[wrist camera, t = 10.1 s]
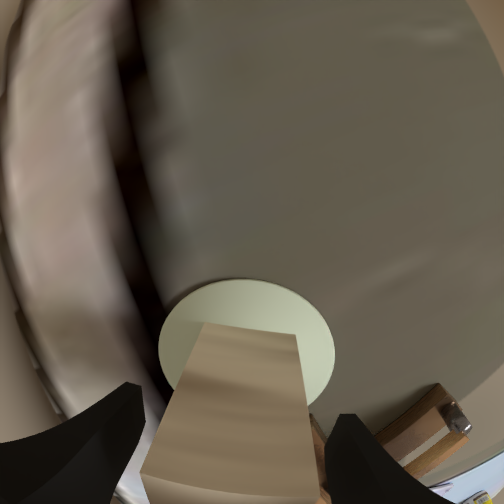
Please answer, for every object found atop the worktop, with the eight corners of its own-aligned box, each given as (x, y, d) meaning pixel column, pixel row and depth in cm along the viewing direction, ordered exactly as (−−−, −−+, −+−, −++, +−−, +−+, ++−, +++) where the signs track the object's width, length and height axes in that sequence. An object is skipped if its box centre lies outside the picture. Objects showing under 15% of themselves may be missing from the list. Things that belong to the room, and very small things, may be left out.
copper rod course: (375, 486, 16) (385, 523, 12) (234, 475, 15) (228, 522, 11) (464, 385, 13) (494, 423, 9) (301, 357, 13) (311, 419, 9)
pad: (293, 432, 14) (294, 436, 14) (150, 392, 14) (149, 395, 13) (362, 310, 12) (364, 312, 12) (180, 252, 12) (178, 253, 12)
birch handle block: (279, 400, 13) (283, 541, 5) (200, 389, 13) (158, 525, 5) (295, 334, 12) (320, 496, 4) (204, 321, 12) (139, 472, 4)
